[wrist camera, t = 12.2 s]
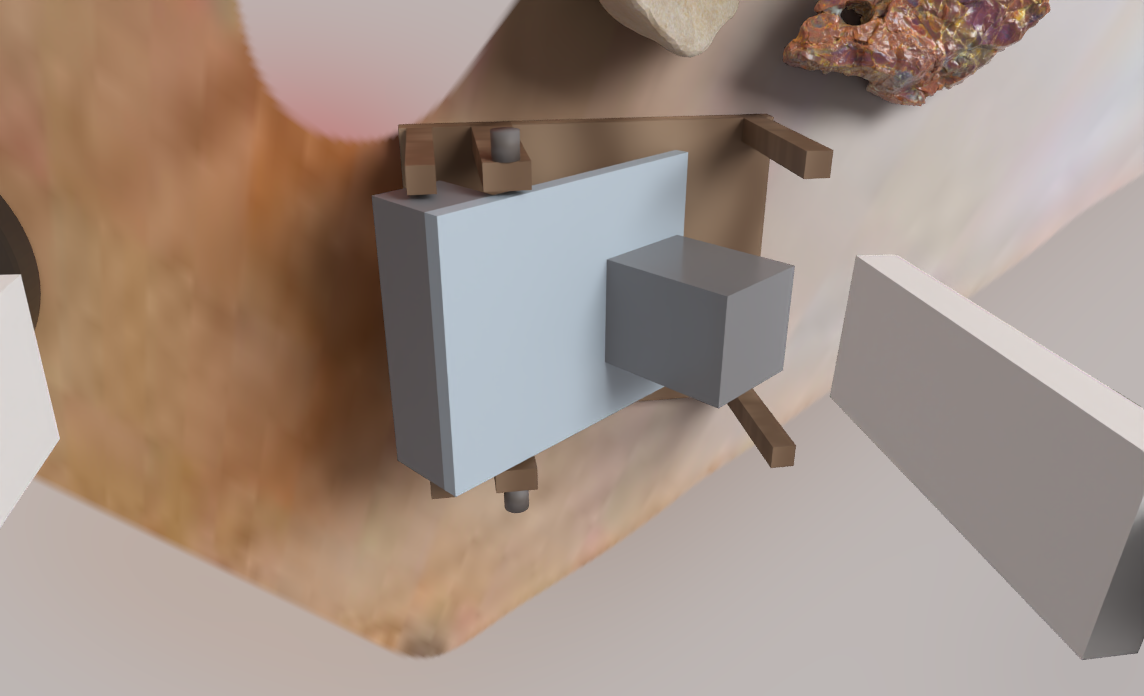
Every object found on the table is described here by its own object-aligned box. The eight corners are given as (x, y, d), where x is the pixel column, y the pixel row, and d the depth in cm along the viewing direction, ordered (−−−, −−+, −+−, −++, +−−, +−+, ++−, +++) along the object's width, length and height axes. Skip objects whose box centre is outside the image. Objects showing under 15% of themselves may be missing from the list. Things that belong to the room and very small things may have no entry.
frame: (423, 427, 50) (425, 521, 42) (396, 99, 42) (392, 136, 34) (739, 402, 53) (799, 486, 45) (768, 90, 45) (846, 122, 37)
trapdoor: (397, 460, 42) (455, 497, 39) (371, 195, 36) (437, 216, 34) (617, 357, 52) (675, 380, 50) (622, 139, 47) (688, 152, 44)
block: (604, 362, 44) (718, 408, 40) (606, 259, 42) (727, 296, 37) (671, 330, 48) (782, 370, 43) (676, 234, 45) (794, 265, 41)
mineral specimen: (859, 176, 46) (877, 150, 40) (766, 70, 47) (768, 27, 40) (1051, 19, 44) (1103, -37, 38) (949, -90, 45) (983, -162, 38)
